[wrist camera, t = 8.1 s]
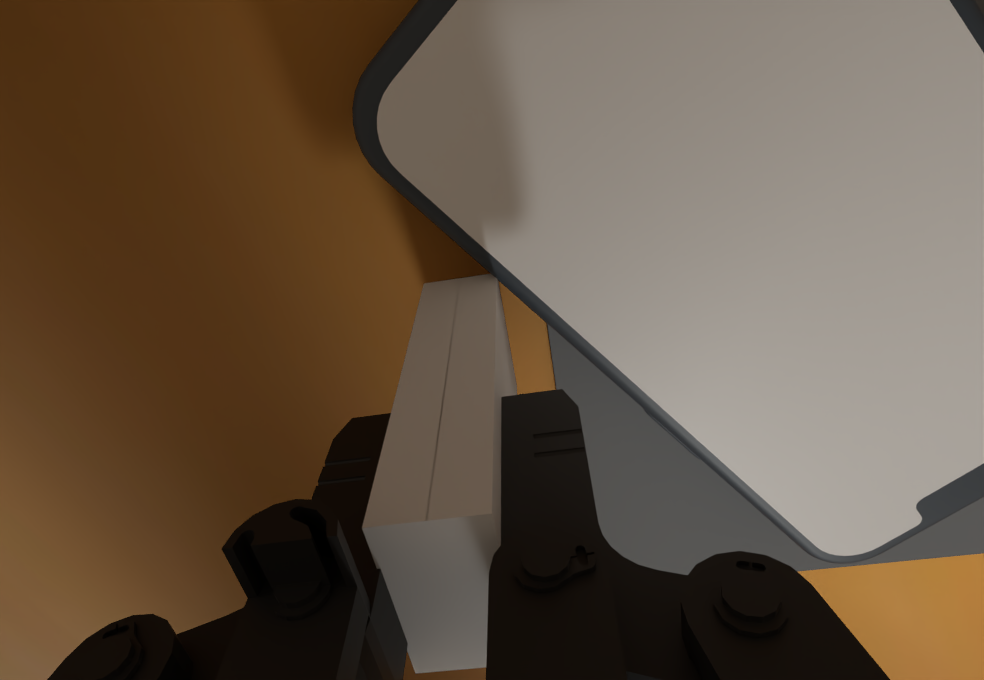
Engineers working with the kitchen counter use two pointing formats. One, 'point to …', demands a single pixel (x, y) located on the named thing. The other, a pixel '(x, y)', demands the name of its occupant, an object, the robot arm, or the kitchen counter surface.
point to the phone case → (728, 225)
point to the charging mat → (696, 489)
